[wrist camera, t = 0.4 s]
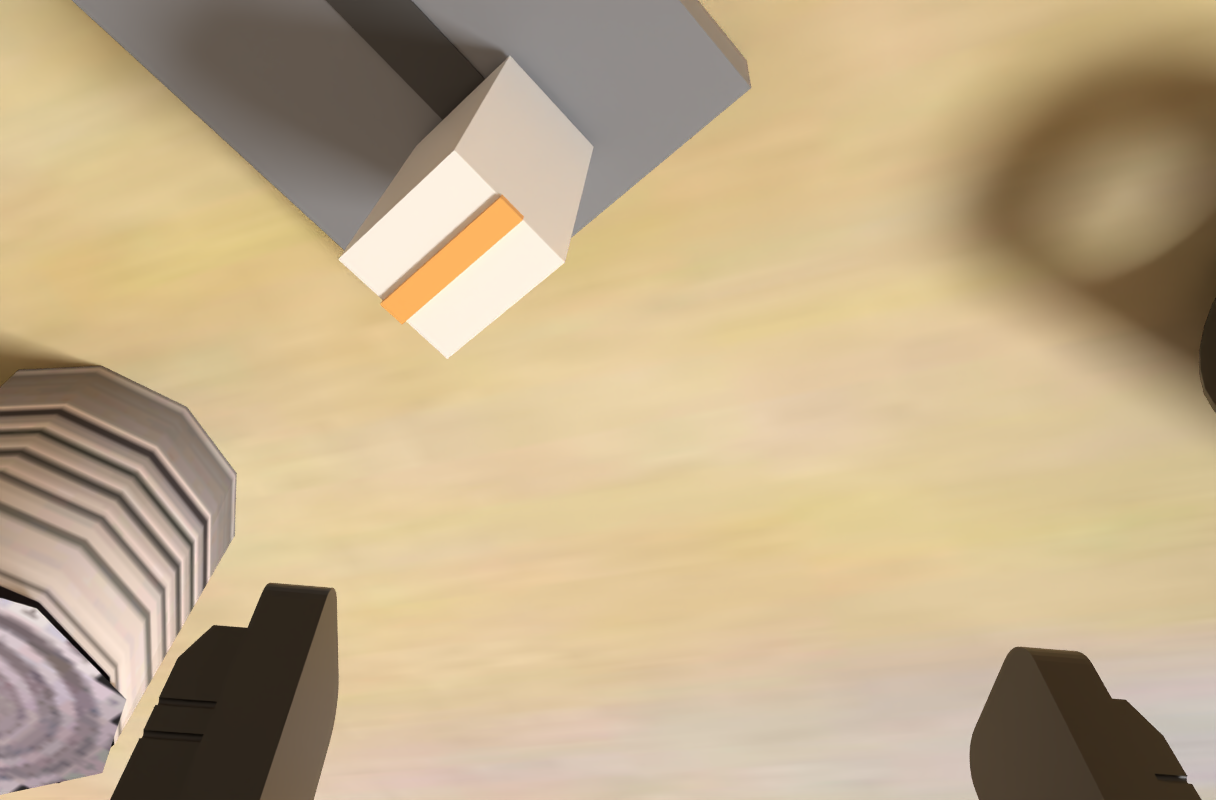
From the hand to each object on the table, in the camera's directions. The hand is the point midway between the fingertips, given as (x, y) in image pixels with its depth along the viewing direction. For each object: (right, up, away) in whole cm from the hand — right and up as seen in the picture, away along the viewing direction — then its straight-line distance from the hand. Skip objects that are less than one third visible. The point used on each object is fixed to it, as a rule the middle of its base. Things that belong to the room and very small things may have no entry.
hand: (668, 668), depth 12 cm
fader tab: (-4, +11, +18) cm, 21 cm away
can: (-22, 0, +31) cm, 38 cm away
